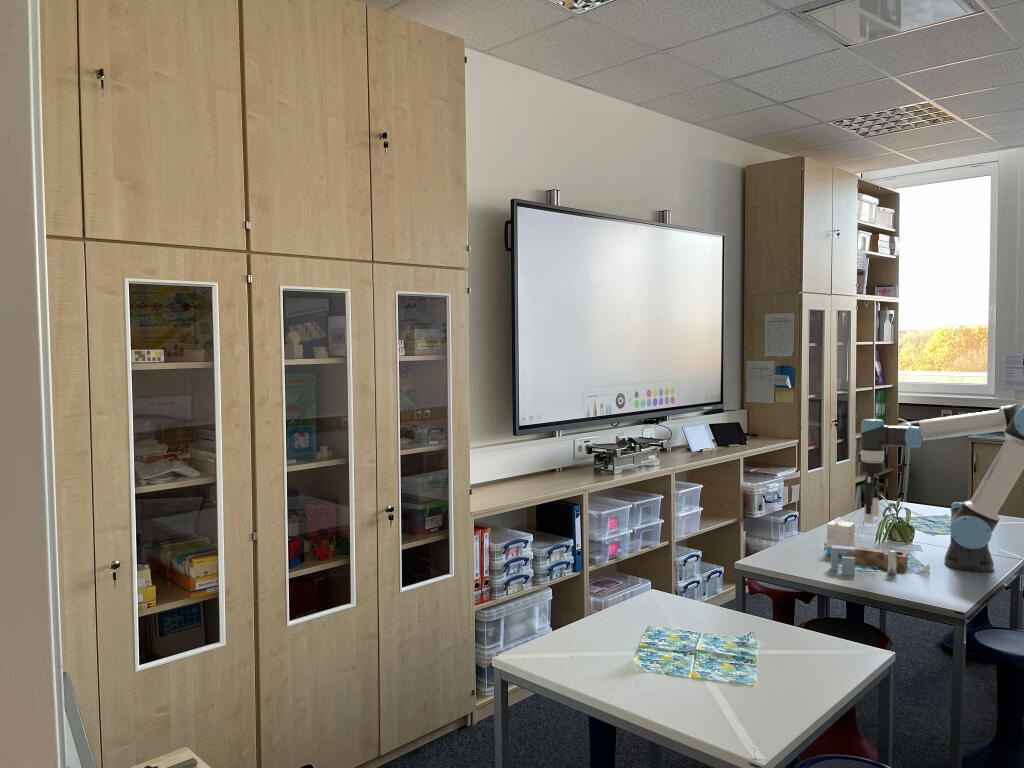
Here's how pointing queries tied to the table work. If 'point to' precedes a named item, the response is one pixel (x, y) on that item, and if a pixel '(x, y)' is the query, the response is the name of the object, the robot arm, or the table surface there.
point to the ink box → (840, 534)
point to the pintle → (892, 562)
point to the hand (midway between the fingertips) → (871, 518)
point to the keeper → (843, 560)
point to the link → (878, 557)
